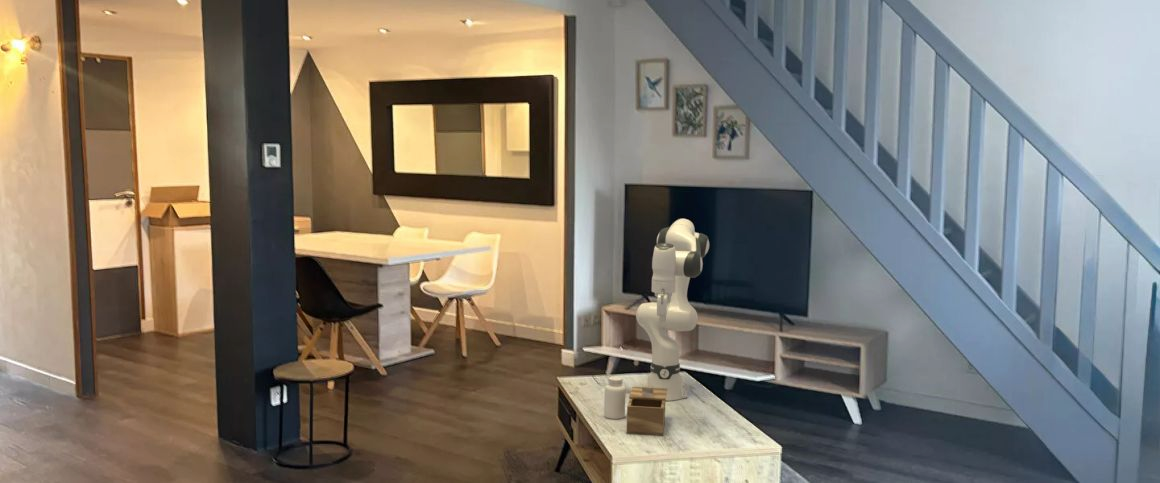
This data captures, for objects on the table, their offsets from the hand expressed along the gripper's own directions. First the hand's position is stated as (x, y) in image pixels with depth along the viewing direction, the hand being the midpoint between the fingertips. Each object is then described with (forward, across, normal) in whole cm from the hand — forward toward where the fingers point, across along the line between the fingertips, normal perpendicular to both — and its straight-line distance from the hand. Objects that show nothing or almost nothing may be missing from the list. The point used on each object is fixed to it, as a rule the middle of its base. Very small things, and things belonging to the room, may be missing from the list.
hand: (662, 323), depth 340 cm
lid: (+27, -1, +4) cm, 27 cm away
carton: (+37, -11, +4) cm, 39 cm away
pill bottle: (+37, +2, +17) cm, 41 cm away
